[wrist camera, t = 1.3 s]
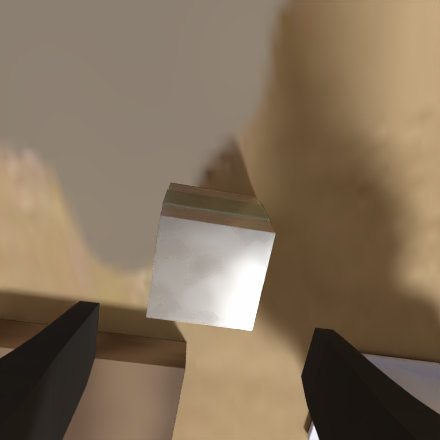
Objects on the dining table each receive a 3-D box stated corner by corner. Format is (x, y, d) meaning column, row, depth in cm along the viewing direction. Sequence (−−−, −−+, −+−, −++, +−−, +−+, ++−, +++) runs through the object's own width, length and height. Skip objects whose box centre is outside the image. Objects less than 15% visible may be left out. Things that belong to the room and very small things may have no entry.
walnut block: (186, 337, 25) (185, 368, 22) (166, 448, 28) (162, 488, 26) (1, 314, 24) (-26, 344, 21) (0, 433, 27) (-23, 473, 24)
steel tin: (257, 195, 22) (276, 232, 16) (240, 273, 24) (252, 331, 18) (169, 181, 21) (159, 214, 16) (158, 262, 23) (145, 318, 17)
